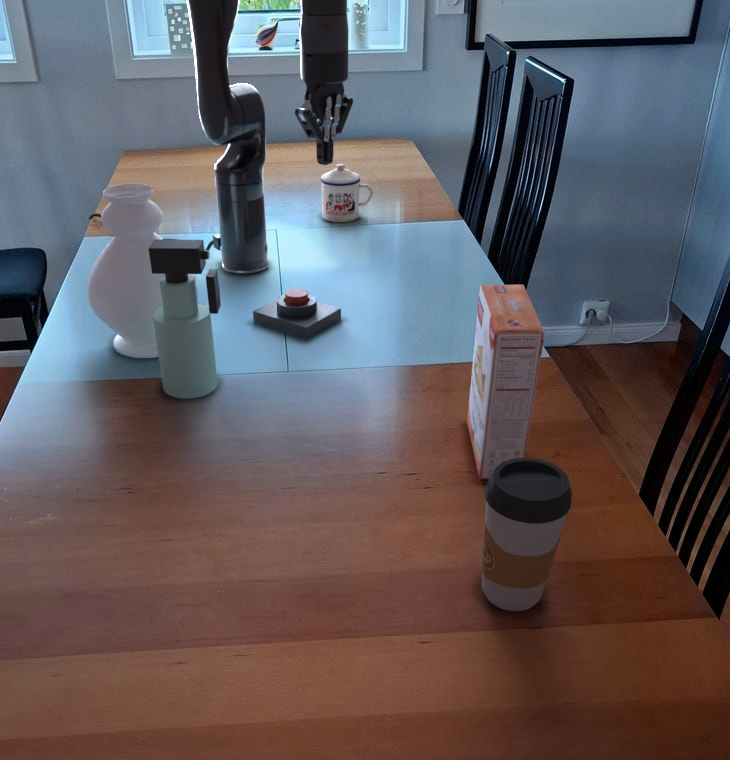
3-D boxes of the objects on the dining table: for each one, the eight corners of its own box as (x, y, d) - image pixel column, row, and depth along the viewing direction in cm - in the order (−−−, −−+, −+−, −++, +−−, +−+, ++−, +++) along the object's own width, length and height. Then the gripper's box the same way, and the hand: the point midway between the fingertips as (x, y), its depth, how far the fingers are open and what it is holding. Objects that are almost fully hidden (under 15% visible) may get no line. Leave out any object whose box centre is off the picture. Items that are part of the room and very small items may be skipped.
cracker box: (463, 424, 115) (478, 282, 102) (506, 424, 115) (526, 282, 102) (475, 481, 104) (494, 329, 91) (523, 481, 103) (548, 329, 91)
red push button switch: (253, 322, 144) (252, 301, 141) (289, 304, 150) (288, 283, 147) (306, 339, 138) (305, 317, 135) (341, 319, 144) (341, 298, 142)
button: (280, 303, 141) (280, 293, 140) (295, 295, 144) (294, 286, 143) (298, 308, 139) (298, 298, 138) (312, 301, 142) (312, 291, 141)
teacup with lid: (321, 223, 187) (320, 170, 180) (321, 211, 194) (320, 159, 187) (373, 222, 187) (374, 169, 180) (371, 210, 194) (372, 158, 187)
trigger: (209, 313, 116) (205, 276, 113) (212, 305, 119) (209, 268, 115) (217, 313, 116) (214, 276, 113) (221, 305, 119) (217, 269, 115)
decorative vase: (163, 311, 148) (143, 168, 133) (224, 340, 138) (210, 189, 123) (77, 342, 138) (45, 191, 123) (137, 376, 128) (110, 216, 113)
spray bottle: (157, 398, 122) (135, 254, 109) (169, 372, 129) (149, 233, 116) (217, 399, 122) (202, 254, 108) (226, 373, 128) (212, 234, 115)
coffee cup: (464, 569, 90) (478, 457, 81) (537, 564, 91) (559, 452, 82) (482, 622, 84) (499, 507, 74) (561, 616, 84) (588, 501, 75)
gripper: (331, 39, 132) (331, 152, 143) (278, 50, 124) (282, 168, 134) (368, 43, 128) (365, 158, 139) (316, 54, 120) (318, 176, 131)
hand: (324, 163), depth 137 cm, fingers closed
